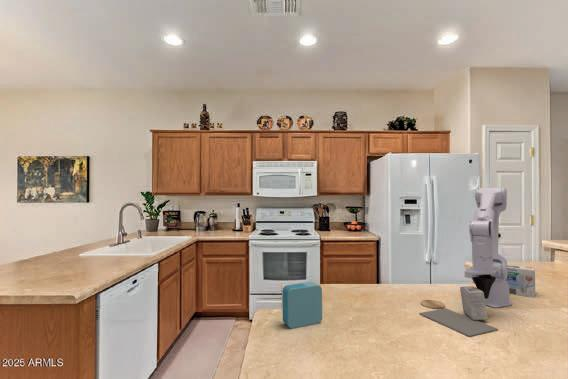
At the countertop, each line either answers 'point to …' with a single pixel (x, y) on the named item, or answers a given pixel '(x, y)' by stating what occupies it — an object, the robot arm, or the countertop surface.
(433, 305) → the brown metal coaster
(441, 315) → the mat
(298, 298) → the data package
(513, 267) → the light bulb box
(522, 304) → the countertop surface
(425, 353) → the countertop surface
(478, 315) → the medicine box
